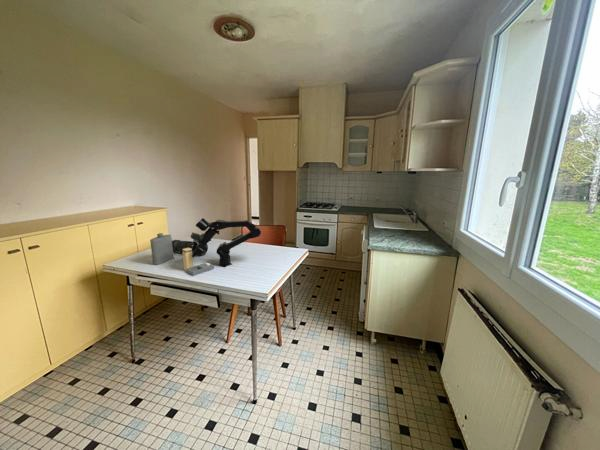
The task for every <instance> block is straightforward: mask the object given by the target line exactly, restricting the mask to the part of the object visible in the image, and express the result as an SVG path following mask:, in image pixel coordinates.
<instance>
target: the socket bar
mask: <svg viewBox="0 0 600 450" xmlns="http://www.w3.org/2000/svg"><path fill="white" fill-rule="evenodd" d="M214 269H215V265H214V264H212V263H210V262H203V263H200V264H197V265H193V267H190V268H187V269H186V271H185V272H186V273H187V274H189V275H191V276H194V277H195V276H197V275H200V274H203V273H206V272H210V271H213V270H214Z"/></svg>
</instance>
